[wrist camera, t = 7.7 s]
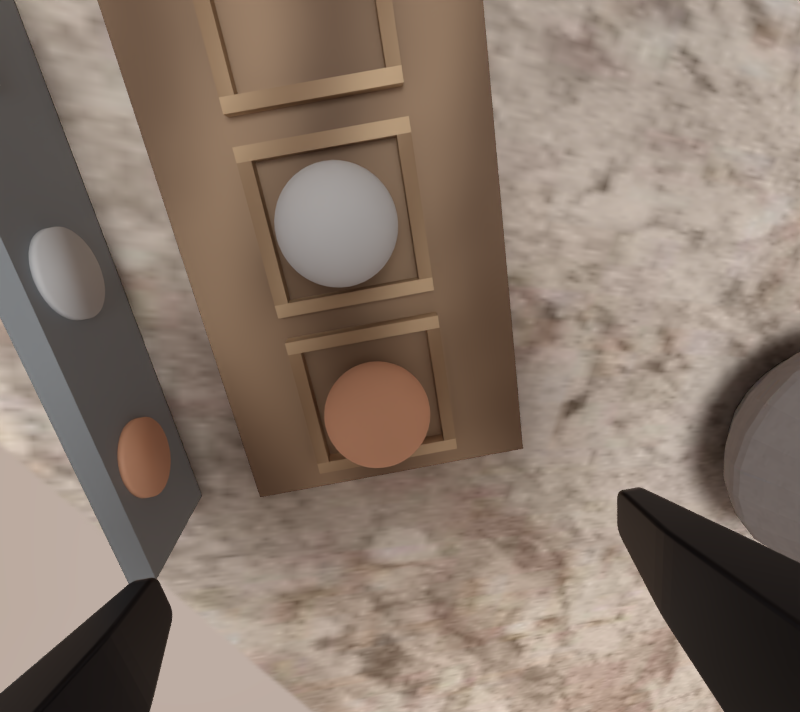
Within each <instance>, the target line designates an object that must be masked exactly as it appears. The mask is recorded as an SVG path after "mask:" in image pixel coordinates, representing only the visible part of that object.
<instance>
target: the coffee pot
mask: <svg viewBox="0 0 800 712" xmlns="http://www.w3.org/2000/svg"><path fill="white" fill-rule="evenodd" d="M723 477H724V480H725V484H726V488H727V491H728V495H729V498H730V501H731V503H732V506H733V508H734V511H735V513H736V515H737V516H738V518H739V519H740V520H741V522H742V523H743V524H744V526H745V527H746V528H747V530H748V531H749V532H750V534H751V535H752V536H753V538H755V539H756V540H758V541H759V542H761V543H762V544H764V545H766V546H767V547H769V548H770V549H772V550H774V551H777V552H779V553H781V554H783V555H785V556H787V557H789V558H791V559H793V560H796V561H798V562H800V352H798V353H797V354H795V355H793V356H792V357H791V358H789V359H787V360H785V361H783V362H781V363H780V364H778V365H777V366H776V367H774V368H773V369H771V370H770V371H769V372H767V373H766V374H764V375H763V376H762V377H761V378H760V379H759V380H758V381H757V382H756V383H755V384H754V385H753V386H752V388H751V389H750V390H749V391H748V392H747V393H746V394H745V396H744V398H743V399H742V401H741V403H740V404H739V406H738V407H737V409H736V411H735V413H734V416H733V419H732V422H731V425H730V428H729V435H728V438H727V441H726V446H725V455H724V474H723Z"/></svg>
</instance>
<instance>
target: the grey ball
mask: <svg viewBox="0 0 800 712" xmlns="http://www.w3.org/2000/svg"><path fill="white" fill-rule="evenodd" d="M274 225H275V233H276V238H277V241H278V245H279V247H280V249H281V251H282V254H283V255H284V257H285V258H286V260H287V261H288V263H289V264H290V265H291V266H292V267H293V268H294V269H295V270H296V271H297V272H298V273H299V274H301V275H302V276H303V277H305V278H306V279H308V280H310V281H312V282H314V283H317V284H319V285H323V286H327V287H341V288H342V287H350V286H354V285H357V284H360V283H363V282H365V281H367V280H368V279H370V278H372V277H373V276H374V275H376V274H377V273H378V272H379V271H380V270H381V269H382V268H383V267H384V266H385V264H386V263H387V262H388V260H389V258H390V257H391V255H392V252H393V250H394V248H395V244H396V241H397V235H398V218H397V212H396V208H395V205H394V202H393V199H392V197H391V195H390V193H389V192H388V190H387V189H386V187H385V186H384V184H383V183H382V182H381V181H380V180H379V179H378V178H377V177H376V176H375V175H374V174H372V173H371V172H370V171H368V170H367V169H365V168H363V167H361V166H359V165H357V164H354V163H351V162H347V161H341V160H328V161H321V162H317V163H314V164H312V165H309V166H307V167H305V168H304V169H302V170H300V171H299V172H298V173H296V174H295V175H294V176H293V177H292V178H291V179H290V180H289V181H288V182H287V184H286V185H285V187H284V188H283V190H282V192H281V194H280V196H279V198H278V201H277V204H276V209H275V217H274Z"/></svg>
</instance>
